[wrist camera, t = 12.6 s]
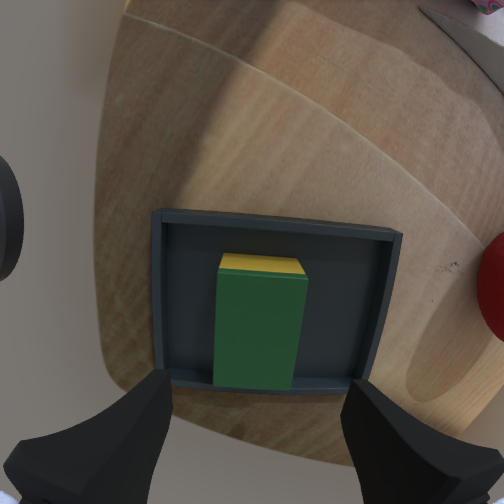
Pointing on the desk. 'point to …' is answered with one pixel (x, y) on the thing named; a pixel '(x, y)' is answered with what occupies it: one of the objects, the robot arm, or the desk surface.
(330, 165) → the desk surface
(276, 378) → the sponge
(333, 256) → the tray
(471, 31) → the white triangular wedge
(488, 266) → the apple
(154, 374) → the robot arm
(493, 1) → the pencil case
